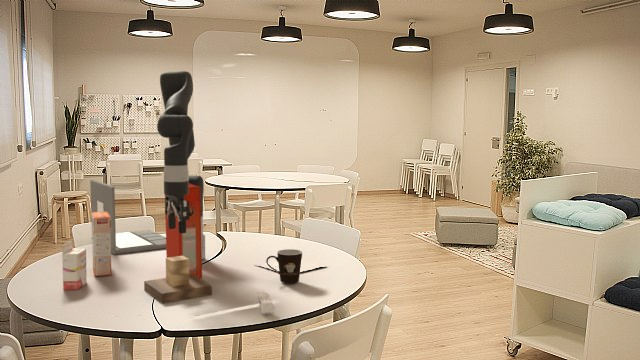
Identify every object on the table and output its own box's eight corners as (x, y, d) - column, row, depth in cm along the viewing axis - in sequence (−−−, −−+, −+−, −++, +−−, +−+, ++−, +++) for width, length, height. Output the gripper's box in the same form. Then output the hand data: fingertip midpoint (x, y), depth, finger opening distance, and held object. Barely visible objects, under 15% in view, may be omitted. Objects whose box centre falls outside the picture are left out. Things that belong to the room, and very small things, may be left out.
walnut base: (191, 282, 187) (191, 273, 187) (211, 294, 174) (211, 285, 174) (144, 290, 178) (144, 281, 177) (162, 303, 165) (161, 293, 165)
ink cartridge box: (78, 289, 177) (77, 244, 176) (62, 290, 177) (61, 244, 176) (87, 282, 186) (86, 239, 185) (72, 282, 186) (70, 239, 184)
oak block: (182, 279, 179) (182, 255, 179) (189, 283, 175) (189, 259, 174) (166, 282, 176) (165, 257, 175) (172, 286, 172) (172, 261, 171)
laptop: (176, 248, 239) (175, 183, 236) (113, 256, 223) (111, 186, 220) (149, 235, 267) (147, 176, 264) (91, 241, 251) (89, 179, 249)
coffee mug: (305, 278, 193) (306, 250, 192) (296, 285, 185) (297, 255, 184) (275, 275, 197) (275, 247, 196) (265, 281, 189) (265, 252, 188)
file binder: (178, 281, 188) (177, 187, 185) (165, 269, 203) (164, 182, 200) (202, 278, 192) (201, 186, 189) (187, 267, 207) (186, 181, 204)
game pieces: (273, 313, 158) (273, 302, 158) (261, 314, 157) (261, 303, 157) (268, 300, 170) (268, 290, 169) (257, 301, 169) (257, 290, 169)
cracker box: (112, 275, 195) (111, 216, 193) (94, 277, 192) (92, 217, 190) (109, 266, 207) (108, 210, 205) (92, 267, 205) (90, 211, 203)
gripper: (196, 181, 169) (197, 233, 170) (179, 176, 180) (179, 226, 182) (173, 182, 164) (174, 236, 166) (156, 178, 176) (157, 228, 178)
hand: (177, 230), depth 174 cm, fingers open, 8 cm apart
